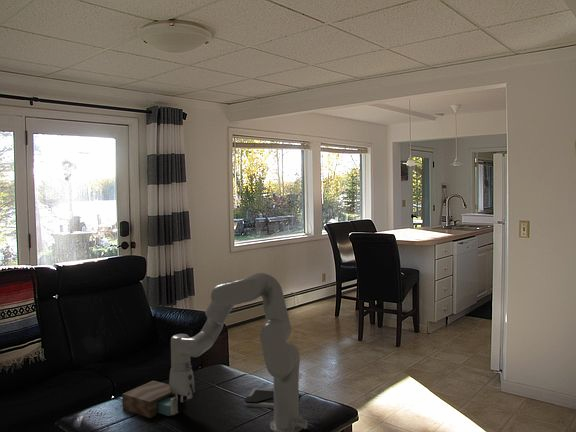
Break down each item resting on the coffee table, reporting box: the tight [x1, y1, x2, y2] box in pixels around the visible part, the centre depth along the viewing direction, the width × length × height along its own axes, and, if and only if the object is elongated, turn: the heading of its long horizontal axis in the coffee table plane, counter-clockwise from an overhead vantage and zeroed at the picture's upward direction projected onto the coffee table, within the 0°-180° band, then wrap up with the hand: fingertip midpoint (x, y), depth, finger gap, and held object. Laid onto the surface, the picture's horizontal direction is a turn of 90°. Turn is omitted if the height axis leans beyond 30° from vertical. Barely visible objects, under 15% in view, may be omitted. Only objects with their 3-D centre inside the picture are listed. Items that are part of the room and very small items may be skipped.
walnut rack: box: [121, 380, 175, 419], centre depth 205 cm, size 16×17×6 cm
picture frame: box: [243, 387, 274, 409], centre depth 210 cm, size 16×3×21 cm
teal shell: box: [156, 396, 179, 417], centre depth 202 cm, size 15×7×6 cm, turn 59°
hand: (181, 410), depth 197 cm, fingers closed
